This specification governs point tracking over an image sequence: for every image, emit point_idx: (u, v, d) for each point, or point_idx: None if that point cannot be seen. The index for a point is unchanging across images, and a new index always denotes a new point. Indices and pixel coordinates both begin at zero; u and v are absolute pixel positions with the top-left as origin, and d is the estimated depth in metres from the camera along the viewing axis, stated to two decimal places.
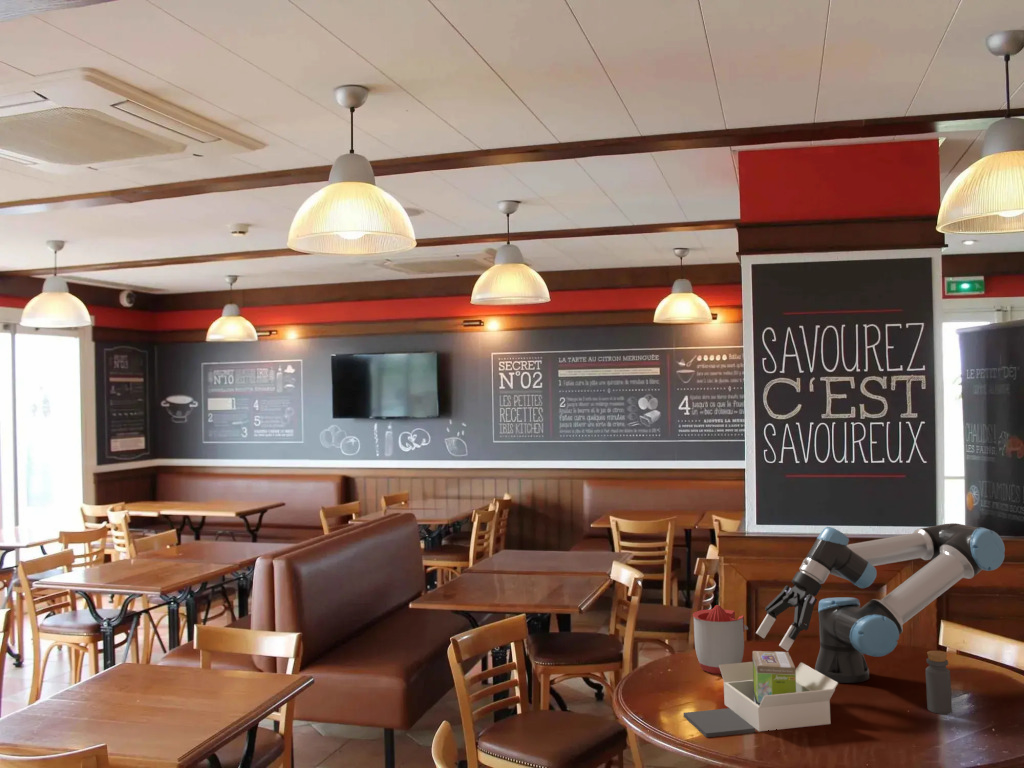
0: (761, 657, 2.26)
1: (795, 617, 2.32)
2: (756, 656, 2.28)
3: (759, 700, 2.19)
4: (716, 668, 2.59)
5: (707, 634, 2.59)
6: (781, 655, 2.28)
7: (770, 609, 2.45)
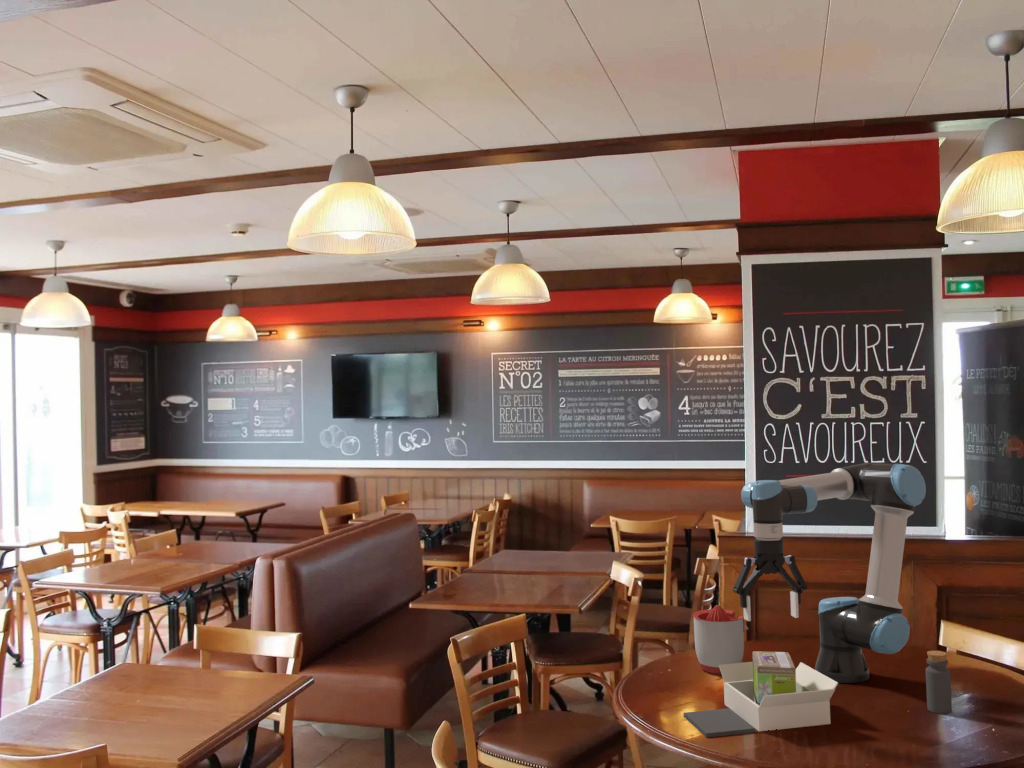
0: (761, 657, 2.26)
1: (793, 584, 2.26)
2: (756, 656, 2.28)
3: (759, 700, 2.19)
4: (716, 668, 2.59)
5: (707, 634, 2.59)
6: (781, 655, 2.28)
7: (746, 590, 2.24)
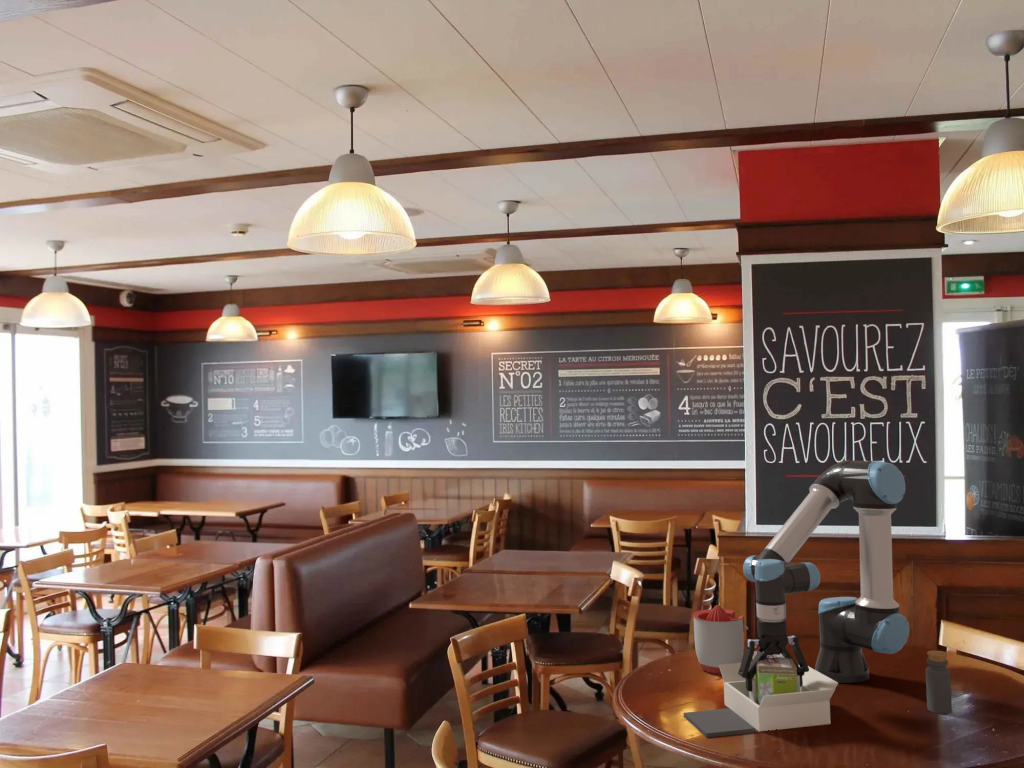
0: None
1: None
2: None
3: (760, 700, 2.19)
4: (716, 668, 2.59)
5: (707, 634, 2.59)
6: (781, 655, 2.28)
7: (752, 673, 2.23)
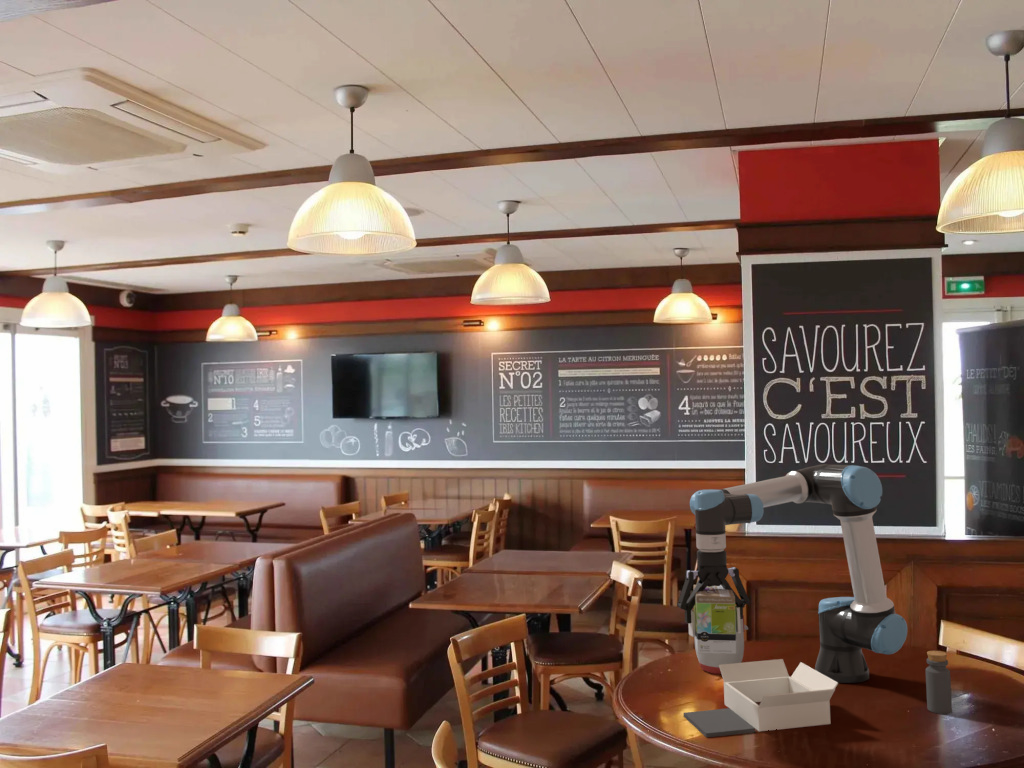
0: None
1: (735, 598, 2.20)
2: None
3: (698, 630, 2.13)
4: (716, 668, 2.59)
5: None
6: (722, 587, 2.22)
7: (690, 605, 2.18)
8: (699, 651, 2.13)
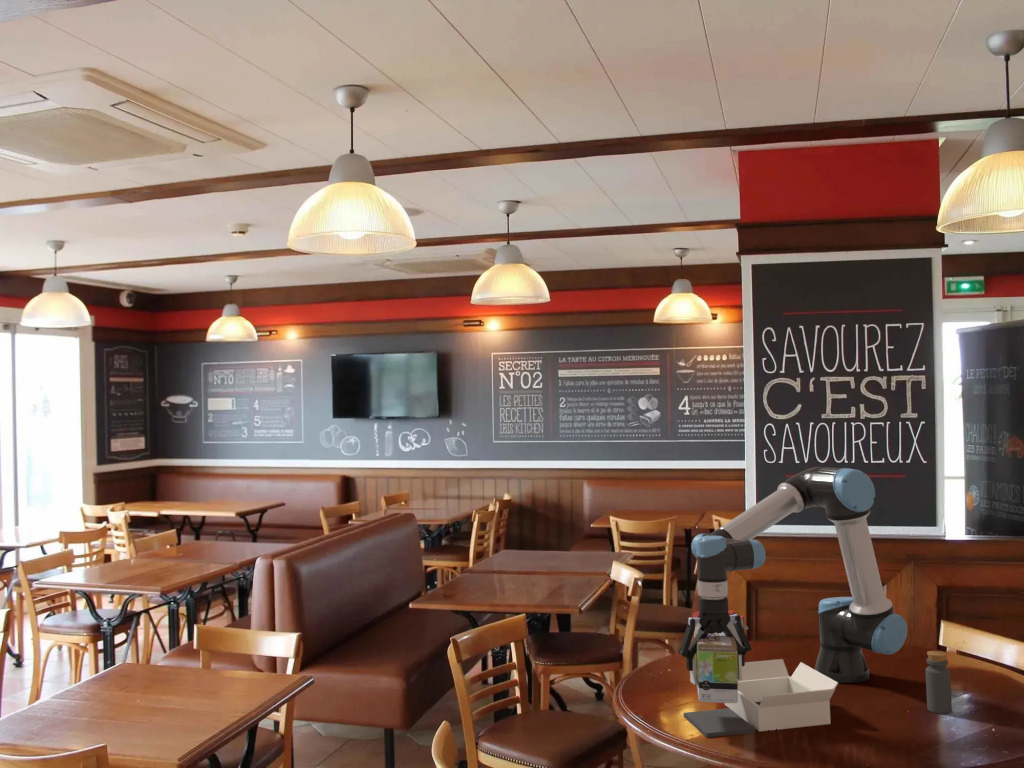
0: None
1: (737, 645, 2.19)
2: None
3: (700, 679, 2.13)
4: None
5: None
6: (723, 634, 2.22)
7: (692, 652, 2.17)
8: (700, 700, 2.12)
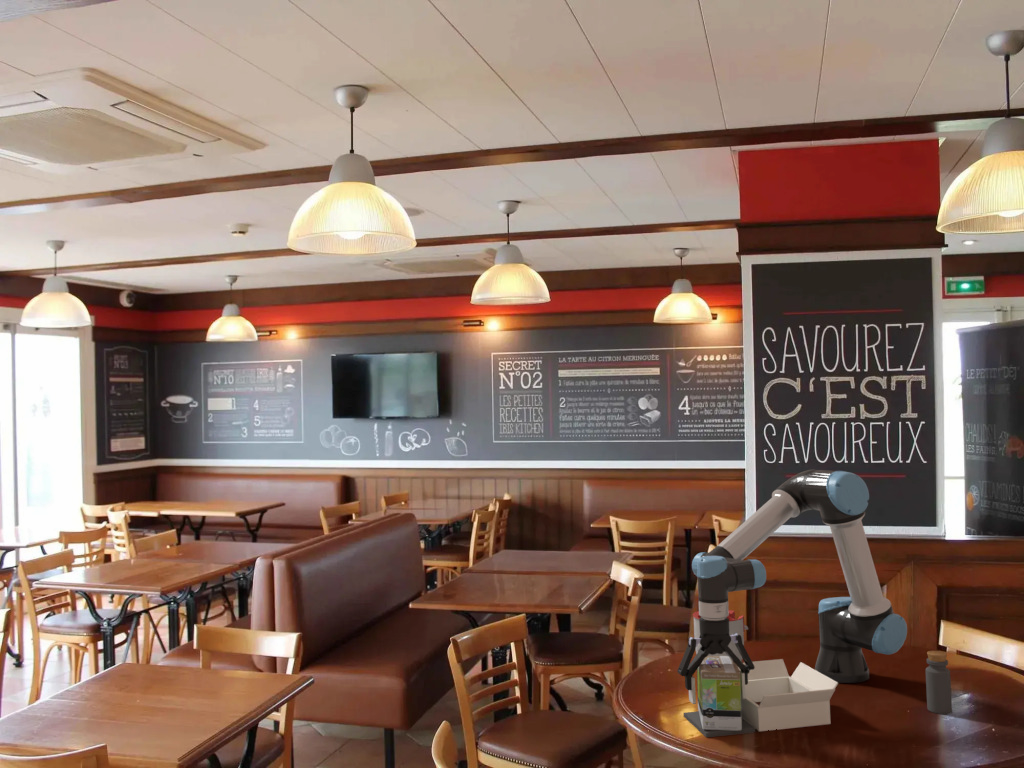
0: (705, 662, 2.20)
1: (740, 664, 2.19)
2: None
3: (703, 707, 2.12)
4: None
5: None
6: (725, 659, 2.22)
7: (691, 672, 2.17)
8: (704, 727, 2.12)
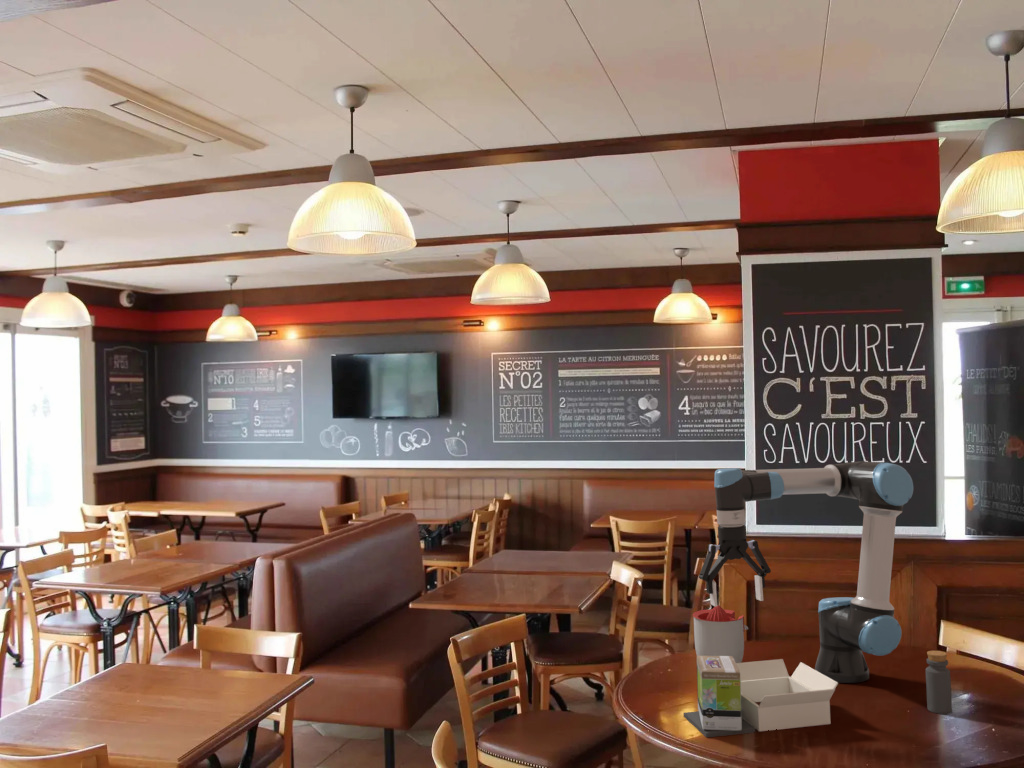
0: (705, 662, 2.20)
1: (757, 568, 2.32)
2: (700, 661, 2.21)
3: (703, 707, 2.12)
4: None
5: (707, 634, 2.59)
6: (725, 659, 2.22)
7: (712, 576, 2.29)
8: (704, 727, 2.12)
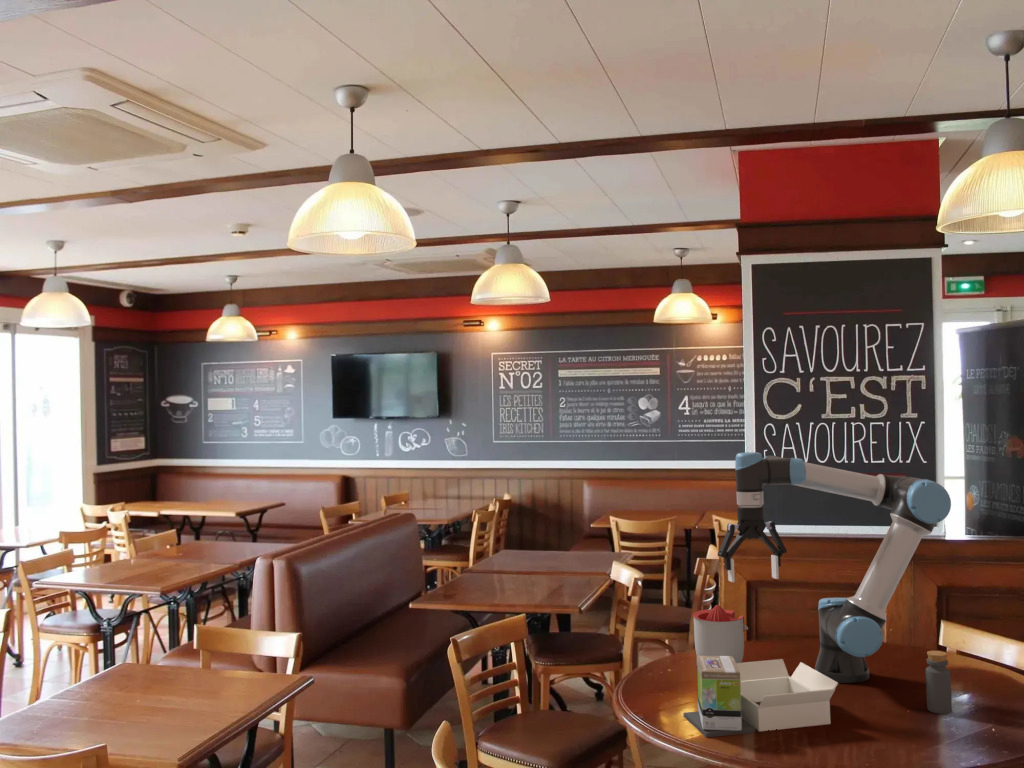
0: (705, 662, 2.20)
1: (773, 548, 2.45)
2: (700, 661, 2.21)
3: (703, 707, 2.12)
4: None
5: (707, 634, 2.59)
6: (725, 659, 2.22)
7: (730, 554, 2.42)
8: (704, 727, 2.12)
